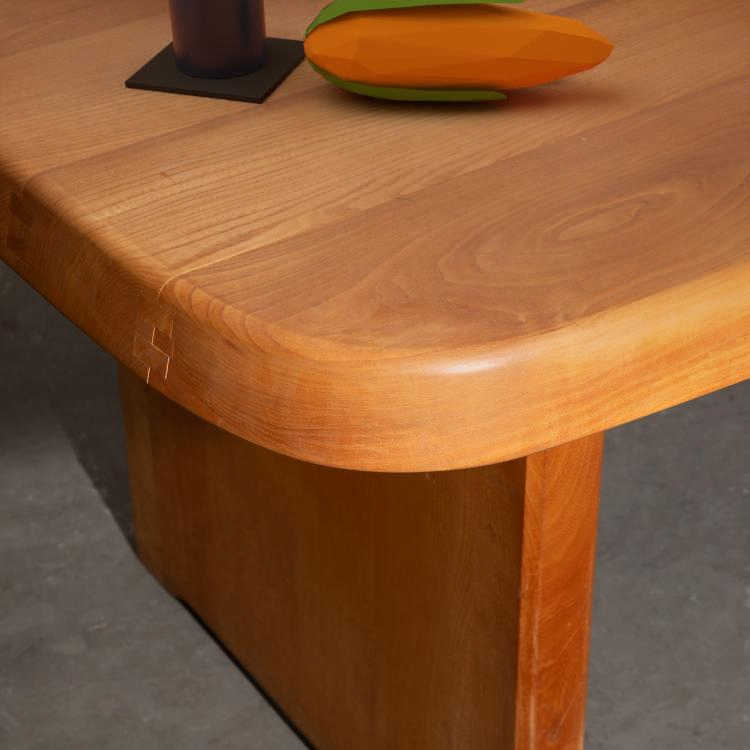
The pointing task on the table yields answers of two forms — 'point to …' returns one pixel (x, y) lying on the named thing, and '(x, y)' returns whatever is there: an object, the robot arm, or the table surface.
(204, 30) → the tin
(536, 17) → the corn
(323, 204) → the table surface
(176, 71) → the coaster
